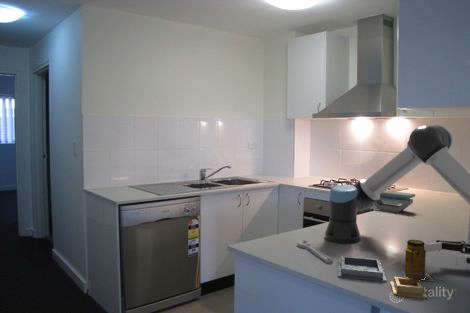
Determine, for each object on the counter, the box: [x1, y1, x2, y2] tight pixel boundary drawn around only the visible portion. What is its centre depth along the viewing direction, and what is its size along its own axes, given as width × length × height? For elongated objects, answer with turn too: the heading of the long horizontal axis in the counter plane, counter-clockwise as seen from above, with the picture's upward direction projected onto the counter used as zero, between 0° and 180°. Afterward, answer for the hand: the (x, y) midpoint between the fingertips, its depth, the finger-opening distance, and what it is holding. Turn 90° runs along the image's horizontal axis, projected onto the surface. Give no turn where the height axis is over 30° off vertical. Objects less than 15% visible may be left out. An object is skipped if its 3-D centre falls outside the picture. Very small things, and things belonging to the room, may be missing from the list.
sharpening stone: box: [373, 190, 416, 213], centre depth 227 cm, size 25×8×11 cm, turn 45°
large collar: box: [337, 255, 388, 283], centre depth 130 cm, size 15×15×3 cm
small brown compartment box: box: [389, 276, 428, 300], centre depth 115 cm, size 9×9×3 cm
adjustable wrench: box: [297, 239, 334, 264], centre depth 150 cm, size 25×6×2 cm, turn 10°
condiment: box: [401, 239, 435, 282], centre depth 125 cm, size 7×8×12 cm
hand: (440, 254), depth 127 cm, fingers open, 13 cm apart
